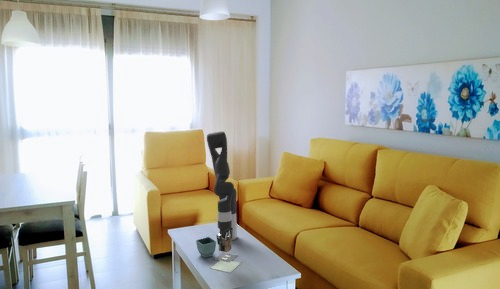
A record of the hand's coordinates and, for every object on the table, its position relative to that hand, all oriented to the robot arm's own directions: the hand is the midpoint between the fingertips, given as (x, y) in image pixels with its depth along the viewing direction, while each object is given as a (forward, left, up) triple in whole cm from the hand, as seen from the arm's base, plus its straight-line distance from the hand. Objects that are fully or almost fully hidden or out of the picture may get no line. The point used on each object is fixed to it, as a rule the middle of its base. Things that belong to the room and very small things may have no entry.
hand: (225, 249), depth 204 cm
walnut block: (0, 0, 0) cm, 0 cm away
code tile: (-9, -5, -10) cm, 14 cm away
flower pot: (-7, -17, -10) cm, 21 cm away
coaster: (0, 0, -10) cm, 10 cm away
